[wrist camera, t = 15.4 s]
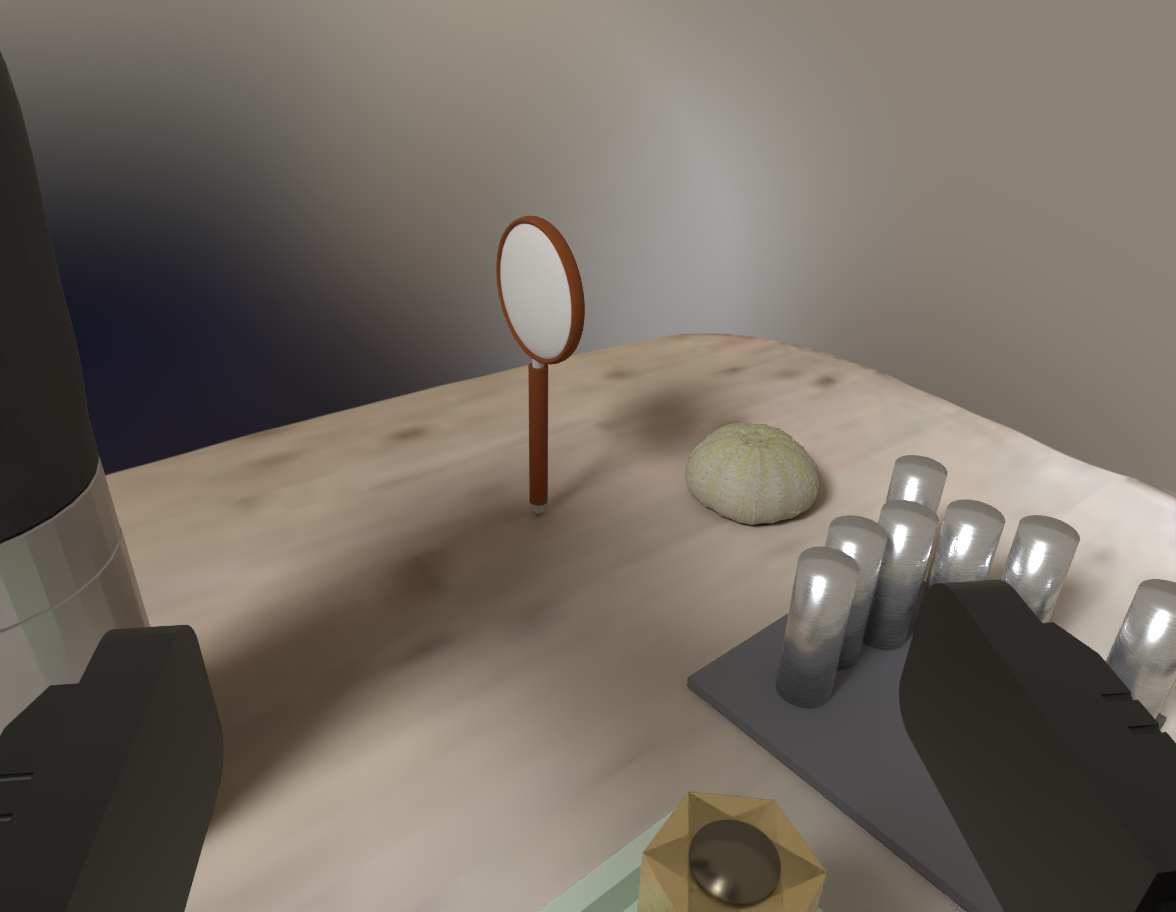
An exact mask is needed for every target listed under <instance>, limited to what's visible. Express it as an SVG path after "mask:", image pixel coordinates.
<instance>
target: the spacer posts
mask: <svg viewBox="0 0 1176 912" xmlns="http://www.w3.org/2000/svg"><path fill="white" fill-rule="evenodd" d="M946 477H947V470H946V468H945V467H944V466H943V465H942V464H941V463H939V462H937V461H935V460H933V459H930V458H927V457H923V456H916V455H908V456H903V457H900V458H898V459H897V460H896V461H895V465H894V470H893V474H892V478H891V482H890V486H889V491H888V495H887V499H886V503H885V504H884V505H883V507H882V510H881V514H880V518H879V522H878V523H876V522H874V521H872V520H870V519H867V518H864V517H860V516H841V517H838V518H836V519H834V520H833V521H832V522H831V523H830V526H829V531H828V536H827V541H826V546H825V547H813V548H810V549H807V550H805V551H803V552H802V553H801V554H800V556H799V560H798V565H797V571H796V576H795V581H794V587H793V592H792V598H791V603H790V608H789V614H788V619H787V625H786V630H785V635H784V641H783V646H782V652H781V657H780V662H779V668H778V673H777V679H776V689H777V692H778V693H779V695H780V696H781V697H782V698H783V699H784V700H785V701H787V702H788V703H790V704H792V705H794V706H796V707H799V708H804V709H815V708H819V707H822V706H824V705H825V704H826V703H827V702H828V701H829V699H830V697H831V693H832V688H833V684H834V680H835V675H836V671H837V670H846V669H849V668H851V667H853V666H854V665H855V664H856V663H857V660H858V656H859V652H860V648H861V644H862V642H863V643H864V644H866V645H867V646H870V647H872V648H875V649H878V650H884V651H891V650H896V649H898V648H900V647H902V646H903V645H904V643H905V640H906V637H907V633H908V630H909V626H910V622H911V619H912V615H913V612H914V608H915V604H916V601H917V597H918V594H919V590H920V586H921V583H922V579H923V576H924V572H925V568H926V565H927V561H928V558H929V554H930V550H931V547H932V543H933V540H934V536H935V532H936V529H937V525H938V521H939V520H938V516H937V515H936V514H937V510H938V506H939V503H940V499H941V495H942V492H943V488H944V484H945V481H946ZM1004 524H1005V518H1004V516H1003V515H1002V514H1001V512H999V511H998V510H997V509H995V508H994V507H992V506H990V505H988V504H985V503H982V502H979V501H974V500H957V501H954V502H952V503H950V504H949V505H948V507H947V511H946V514H945V518H944V522H943V525H942V529H941V532H940V536H939V539H938V543H937V546H936V550H935V554H934V557H933V561H932V564H931V568H930V571H929V575H928V578H927V582H926V585H925V589H924V593H923V596H922V600H921V603H920V607H919V610H918V614H917V617H916V621H915V625H914V629H915V626H916V623H917V620H918V616H919V613H920V609H921V606H922V602H923V599H924V596H925V594H926V592H927V590H928V589H929V588H930V587H931V586H932V585H934V584H936V583H949V582H966V581H983V580H986V579H987V576H988V573H989V570H990V567H991V564H992V561H993V558H994V555H995V552H996V549H997V546H998V543H999V539H1000V536H1001V533H1002V530H1003V527H1004ZM1079 541H1080V537H1079V534H1078V533H1077V531H1076V530H1075V529H1074V528H1072V527H1071V526H1070V525H1068V524H1066V523H1065V522H1062V521H1060V520H1058V519H1055V518H1051V517H1047V516H1040V515H1032V516H1027V517H1024V518H1022V519H1021V520H1020V522H1019V525H1018V528H1017V531H1016V534H1015V537H1014V540H1013V543H1012V546H1011V549H1010V552H1009V555H1008V558H1007V561H1006V564H1005V567H1004V570H1003V573H1002V576H1001V579H1000V580H1002V581H1005V582H1007V583H1008V584H1009V585H1011V586H1012V587H1013V588H1014V589H1015V590H1016V592H1017V593H1018V594H1019V595H1020V596H1021V598H1022V599H1023V600H1024V601H1025V603H1026V604H1027V605H1028V606H1029V607H1030V609H1031V610H1032V611H1033V612H1034V613H1035V615H1036V616H1037V617H1038V618H1039V620H1040V621H1041V622H1042V623H1048V622H1049V620H1050V617H1051V614H1052V612H1053V609H1054V607H1055V604H1056V601H1057V599H1058V596H1059V593H1060V591H1061V588H1062V586H1063V583H1064V580H1065V578H1066V575H1067V573H1068V570H1069V567H1070V565H1071V562H1072V559H1073V557H1074V554H1075V552H1076V549H1077V546H1078V544H1079ZM1106 663H1107V664H1108V665H1109V666H1110V668H1111V669H1112V670H1113V671H1114V672H1115V673H1116V675H1117V676H1118V677H1119V678H1120V679H1121V680H1122V681H1123V683H1124V684H1125V685H1126V686H1127V687H1128V688H1129V690H1130V691H1131V696H1132V699H1133V700H1139V701H1140V702H1141V704H1142V705H1143V706H1144V707H1145V708H1146V709H1147V710H1148V712H1149V713H1150V714H1151V715H1152V716H1153V717H1154V719H1156V717H1157V715H1158V713H1159V711H1160V709H1161V707H1162V705H1163V703H1164V701H1165V699H1166V697H1167V695H1168V693H1169V691H1170V689H1171V687H1172V685H1173V683H1174V681H1175V679H1176V583H1174V582H1171V581H1167V580H1160V579H1151V580H1146V581H1143V582H1142V583H1140V585H1139V587H1138V589H1137V591H1136V594H1135V596H1134V598H1133V600H1132V603H1131V605H1130V607H1129V610H1128V612H1127V614H1126V616H1125V619H1124V621H1123V623H1122V625H1121V628H1120V630H1119V632H1118V635H1117V637H1116V639H1115V641H1114V644H1113V646H1112V648H1111V651H1110V653H1109V655H1108V657H1107V660H1106Z"/></svg>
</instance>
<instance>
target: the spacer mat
mask: <svg viewBox="0 0 1176 912" xmlns="http://www.w3.org/2000/svg"><path fill="white" fill-rule="evenodd" d="M925 585H926V582H924V581H922V583H921V586H920V590H919V594H918V597H917V601H916V604H915V608H914V612H913V615H912V619H911V622H910V626H909V630H908V633H907V637H906V640H905V643H904V645H903V646H902V647H900V648H898V649H896V650H891V651H884V650H878V649H875V648H872V647H870V646H867V645H866V644H864V643H863V642H862V644H861V648H860V652H859V656H858V660H857V663H856V664H855V665H854V666H853V667H851V668H849V669H846V670H837V671H836V675H835V680H834V684H833V688H832V693H831V697H830V699H829V701H828V702H827V703H826V704H825V705H824V706H822V707H819V708H815V709H804V708H799V707H796V706H794V705H792V704H790V703H788V702H787V701H785V700H784V699H783V698H782V697H781V696H780V695H779V693H778V692H777V689H776V679H777V673H778V668H779V662H780V657H781V652H782V646H783V641H784V635H785V630H786V625H787V619H788V614H789V613H788V614H787V615H785V616H783V617H782V618H780V619H779V620H777V621H776V622H774V623H772V624H771V625H769V626H768V627H766V628H765V629H763V630H761V631H760V632H758V633H757V634H755V635H754V636H752V637H751V638H749V639H747V640H746V641H744V642H743V643H741V644H740V645H738V646H736V647H735V648H733V649H732V650H730V651H729V652H727V653H726V654H724V655H722V656H721V657H719V658H718V659H716V660H715V661H713V662H711V663H710V664H708V665H707V666H705V667H704V668H702V669H700V670H699V671H697V672H696V673H694V674H693V675H691V676H690V677H688V682H687V686H688V687H689V688H690V689H692V690H693V691H694V692H695V693H697V694H698V695H699V696H700V697H702V698H703V699H704V700H705V701H707V702H708V703H709V704H710V705H712V706H713V707H714V708H715V709H717V710H718V711H719V712H720V713H721V714H723V715H724V716H725V717H726V718H728V719H729V720H730V721H731V722H733V723H734V724H735V725H736V726H738V727H739V728H740V729H741V730H743V731H744V732H745V733H746V734H748V735H749V736H750V737H751V738H753V739H754V740H755V741H756V742H757V743H759V744H760V745H761V746H762V747H764V748H765V749H766V750H767V751H769V752H770V753H771V754H772V755H774V756H775V757H776V758H777V759H779V760H780V761H781V762H782V763H784V764H785V765H786V766H787V767H789V768H790V769H791V770H792V771H793V772H795V773H796V774H797V775H798V776H800V777H801V778H802V779H803V780H805V781H806V782H807V783H808V784H810V785H811V786H812V787H813V788H815V789H816V790H817V791H818V792H820V793H821V794H822V795H823V796H824V797H826V798H827V799H828V800H829V801H831V802H832V803H833V804H834V805H836V806H837V807H838V808H839V809H841V810H842V811H843V812H844V813H846V814H847V815H848V816H849V817H851V818H852V819H853V820H854V821H856V822H857V823H858V824H859V825H860V826H862V827H863V828H864V829H865V830H867V831H868V832H869V833H870V834H872V835H873V836H874V837H875V838H877V839H878V840H879V841H880V842H882V843H883V844H884V845H885V846H887V847H888V848H889V849H890V850H892V851H893V852H894V853H895V854H896V855H898V856H899V857H900V858H901V859H903V860H904V861H905V862H906V863H908V864H909V865H910V866H911V867H913V868H914V869H915V870H916V871H918V872H919V873H920V874H921V875H923V876H924V877H925V878H926V879H928V880H929V881H930V882H931V883H932V884H934V885H935V886H936V887H937V888H939V889H940V890H941V891H942V892H944V893H945V894H946V895H947V896H949V897H950V898H951V899H952V900H954V901H955V902H956V903H957V904H959V905H960V906H961V907H962V908H964V909H965V910H966V911H967V912H1004V911H1003V909H1002V907H1001V905H1000V903H999V901H998V900H997V898H996V896H995V894H994V892H993V890H992V889H991V887H990V885H989V883H988V881H987V879H986V878H985V876H984V874H983V872H982V870H981V868H980V867H979V865H978V863H977V861H976V859H975V857H974V855H973V854H972V852H971V850H970V848H969V846H968V844H967V843H966V841H965V839H964V837H963V835H962V833H961V832H960V830H959V828H958V826H957V824H956V822H955V821H954V819H953V817H952V815H951V813H950V811H949V809H948V808H947V806H946V804H945V802H944V800H943V798H942V797H941V795H940V793H939V791H938V789H937V787H936V786H935V784H934V782H933V780H932V778H931V776H930V775H929V773H928V771H927V769H926V767H925V765H924V764H923V762H922V760H921V758H920V756H919V754H918V752H917V751H916V749H915V747H914V745H913V743H912V741H911V740H910V738H909V736H908V734H907V731H906V729H905V726H904V723H903V720H902V715H901V711H900V704H899V684H900V679H901V675H902V671H903V668H904V664H905V661H906V657H907V654H908V651H909V647H910V644H911V640H912V637H913V633H914V630H915V629H914V625H915V621H916V617H917V614H918V610H919V607H920V603H921V600H922V596H923V593H924V589H925ZM1155 720H1156V721H1157V722H1158V723H1159V730H1160V729H1161V727H1162V726H1163V724H1164V722H1165V720H1166V717H1165V716H1163V715H1161V714H1159V713H1158V715H1157V717H1156V719H1155Z"/></svg>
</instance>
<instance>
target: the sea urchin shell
mask: <svg viewBox="0 0 1176 912" xmlns="http://www.w3.org/2000/svg"><path fill="white" fill-rule="evenodd" d="M816 468H817V466H816V465H815V464H814V462H813V459H812V458H811V457H810V456H809V454H808V453H807V452H806V451H805V450H804V447H803V446H801V445H800V444H799V442H797V441H795V440H794V439H793V438H792V436H790V435H789V434H787V433H785V432H784V431H782V430H780V429H778V428H775V427H770V426H767V425H766V424H752V423H750V422H749V423H746V424H743V423H732V424H728V425H726V426H722V427H721V428H719V429H717V430H716V431H715V432H712V433H711V434H710V435H707V436H706V438H705V439H704V440H702V442H701V443H700V444H698V446H696V448H695V449H694V450H693V451H692V452H691V456H690V457H689V461H688V464H687V467H686V472H685V475H686V482H687V485H688V488H689V490H690V492H691V494H692V495H693V496H694V497H695V498H696V499H698V500H699V501H700V502H701V503H702V504H703V505H704V506H705V507H708V508H711V509H713V510H714V511H716V512H717V513H719V514H720V516H722V517H726V518H730V519H732V520H734V521H736V522H738V523H744V524H749V525H755V524H760V523H770V524H772V523H774V522H778V521H779V520H786V519H789V518H791V519H792V518H794V517H796V516H797V515H798V514H801V513H802V512H804V511H806V510H807V509H809V508H810V506H812V505H813V502H814V501H815V499H816V498H817V495H818V491H819V489H820V488H819V485H820V484H819V478H818V471H817V469H816Z"/></svg>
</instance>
